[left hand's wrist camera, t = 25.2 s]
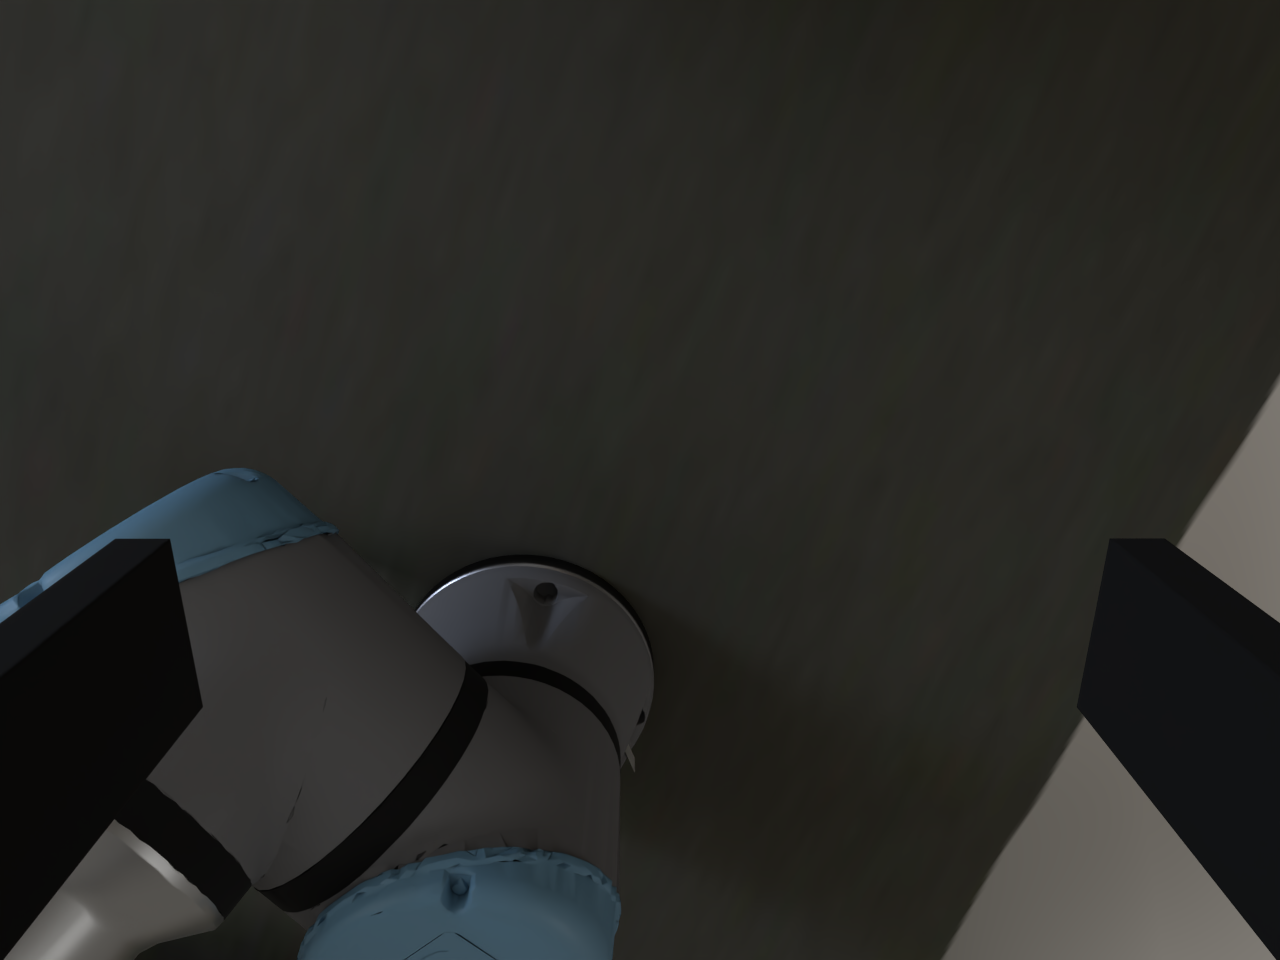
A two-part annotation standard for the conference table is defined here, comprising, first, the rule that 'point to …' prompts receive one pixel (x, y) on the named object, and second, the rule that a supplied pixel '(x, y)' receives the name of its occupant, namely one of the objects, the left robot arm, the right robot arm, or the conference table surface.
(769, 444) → the conference table surface
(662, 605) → the conference table surface
